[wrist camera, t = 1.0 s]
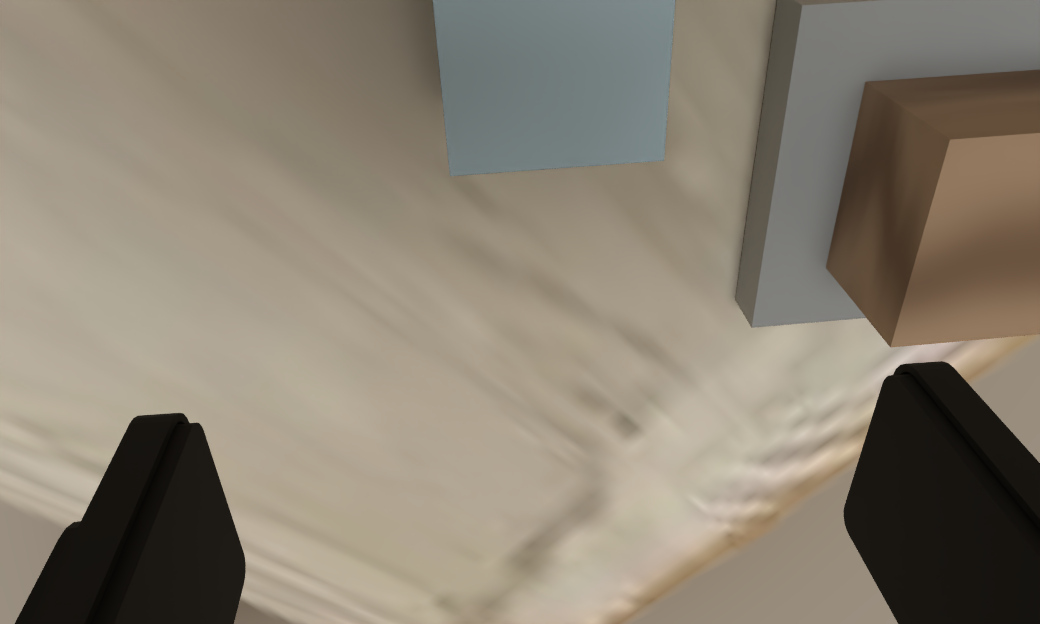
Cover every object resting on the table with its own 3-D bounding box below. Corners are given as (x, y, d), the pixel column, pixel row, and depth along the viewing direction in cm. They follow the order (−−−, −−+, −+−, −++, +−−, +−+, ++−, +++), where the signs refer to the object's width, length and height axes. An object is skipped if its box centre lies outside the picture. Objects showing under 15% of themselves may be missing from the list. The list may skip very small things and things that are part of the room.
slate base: (778, -9, 25) (802, 5, 23) (1131, -32, 26) (1179, -19, 24) (735, 299, 32) (751, 327, 30) (1016, 276, 32) (1046, 302, 31)
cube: (429, -95, 23) (426, -63, 18) (629, -105, 23) (680, -77, 18) (447, 103, 26) (450, 176, 21) (622, 91, 27) (664, 160, 22)
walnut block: (865, 81, 25) (950, 139, 21) (1073, 67, 25) (1197, 121, 21) (825, 267, 29) (890, 347, 25) (1006, 252, 29) (1099, 328, 25)
